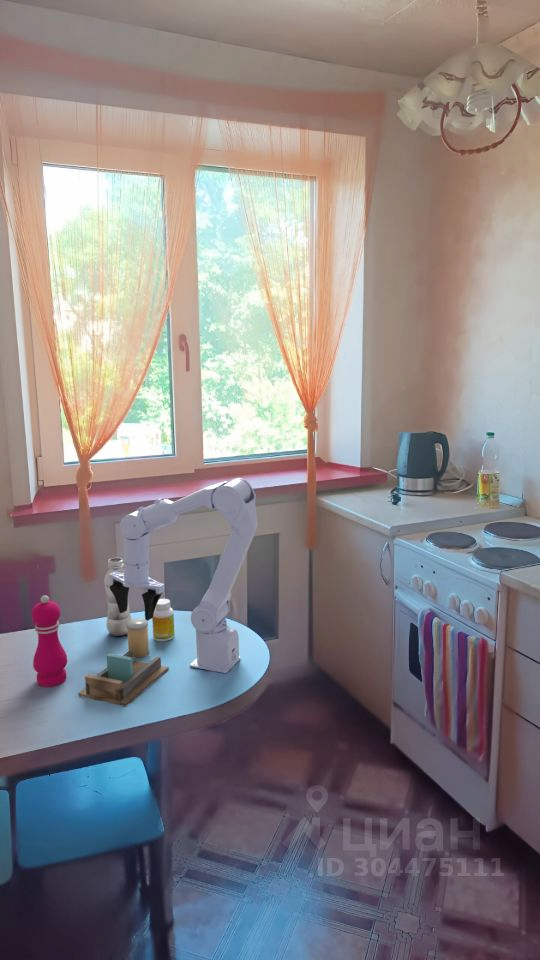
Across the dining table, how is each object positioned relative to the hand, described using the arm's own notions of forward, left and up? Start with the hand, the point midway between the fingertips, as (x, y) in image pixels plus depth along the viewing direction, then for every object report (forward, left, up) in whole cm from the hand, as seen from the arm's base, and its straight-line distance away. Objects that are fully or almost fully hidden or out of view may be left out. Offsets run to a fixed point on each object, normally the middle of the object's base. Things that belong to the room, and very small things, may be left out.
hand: (136, 615), depth 155 cm
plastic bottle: (+11, -8, -10) cm, 17 cm away
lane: (-5, +13, -10) cm, 17 cm away
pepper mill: (+11, +18, -10) cm, 23 cm away
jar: (0, 0, -10) cm, 10 cm away
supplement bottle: (-1, -10, -10) cm, 14 cm away
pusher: (-5, +15, -9) cm, 18 cm away
